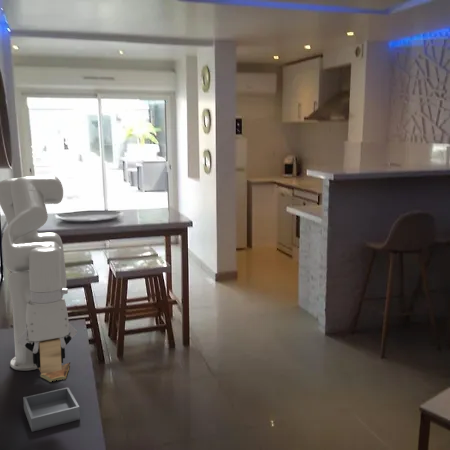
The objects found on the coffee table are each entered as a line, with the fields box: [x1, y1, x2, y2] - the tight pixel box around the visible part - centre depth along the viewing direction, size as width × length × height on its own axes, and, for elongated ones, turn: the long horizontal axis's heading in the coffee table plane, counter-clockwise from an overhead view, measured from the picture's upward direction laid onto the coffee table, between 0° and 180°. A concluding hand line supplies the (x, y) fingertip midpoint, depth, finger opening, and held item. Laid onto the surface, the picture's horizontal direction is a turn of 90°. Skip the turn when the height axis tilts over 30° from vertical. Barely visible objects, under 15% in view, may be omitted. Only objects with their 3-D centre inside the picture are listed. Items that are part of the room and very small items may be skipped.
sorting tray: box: [22, 387, 81, 433], centre depth 132 cm, size 12×12×4 cm
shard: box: [40, 362, 71, 383], centre depth 155 cm, size 11×8×2 cm
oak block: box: [38, 338, 63, 375], centre depth 129 cm, size 5×5×8 cm
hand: (49, 363), depth 129 cm, fingers closed on oak block, 5 cm apart
